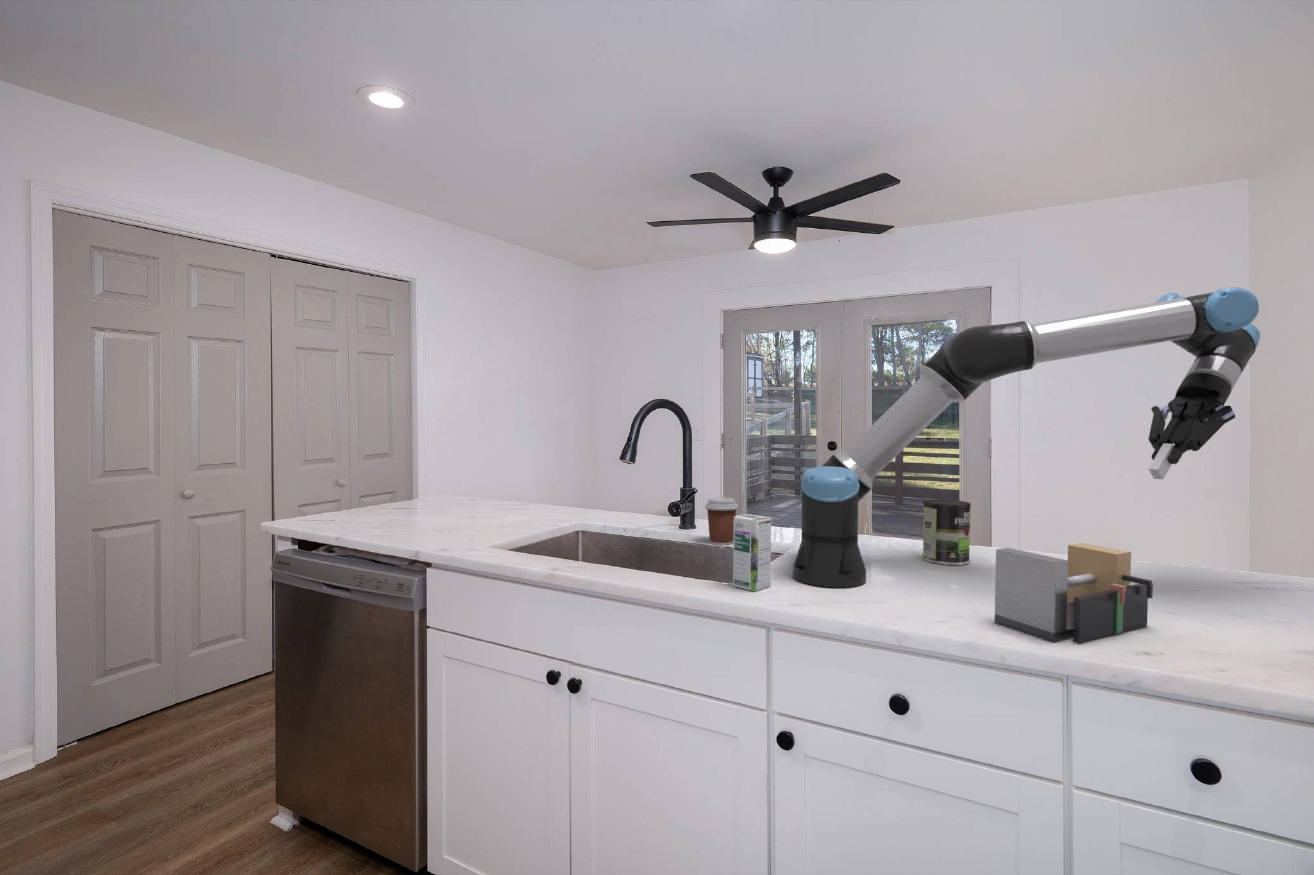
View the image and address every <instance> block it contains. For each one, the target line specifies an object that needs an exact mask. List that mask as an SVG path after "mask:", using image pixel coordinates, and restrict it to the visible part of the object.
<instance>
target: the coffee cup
mask: <svg viewBox="0 0 1314 875" xmlns="http://www.w3.org/2000/svg"><path fill="white" fill-rule="evenodd" d="M739 508H740V507H739V505H738V504H737V502H736V500H735V499H734V498H733V497H732V498H731V497H727V496H726V497H723V496H722V497H721V496H720V497H718V496H717V497H710V498H709V499H708V502H707V503H706V504H704V509H706V511H707V522H708V534H709V544H711V545H716V546H729V545H730V546H731V545H734V517H735V516H737V510H739Z"/></svg>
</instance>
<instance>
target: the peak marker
mask: <svg viewBox="0 0 1314 875" xmlns="http://www.w3.org/2000/svg"><path fill="white" fill-rule="evenodd" d="M1111 590H1116V591H1119V604H1124V601H1125V591H1126V586H1123V585H1118V584H1111Z"/></svg>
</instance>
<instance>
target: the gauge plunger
mask: <svg viewBox="0 0 1314 875" xmlns="http://www.w3.org/2000/svg"><path fill="white" fill-rule="evenodd" d="M1067 560H1068V583H1067V601H1071V602H1074V597H1077V596H1082V595H1087V594H1092V593H1097V592H1102V591H1107V590H1111V584H1118V585H1123V586H1131V583H1133V584H1134V583H1135V584H1143V585H1147V590H1146V597H1147V598H1148V599H1153V594H1154V593H1153V592H1154V583H1153V580H1151V579H1146V578H1143V577H1138V576H1133V575H1131V574H1132V573H1131V572H1132V570H1131V569H1132V568H1131V567H1132V566H1131V565H1132V551H1127V550H1124V549H1123V550H1122V549H1116V548H1111V547H1105V546H1100V545H1095V544H1090V543H1084V542H1083V543H1082V542H1079V543H1073V544H1067Z"/></svg>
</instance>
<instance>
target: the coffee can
mask: <svg viewBox="0 0 1314 875" xmlns="http://www.w3.org/2000/svg"><path fill="white" fill-rule="evenodd" d="M922 504H923V532H922V533H923V535H922V536H923V537H922V538H923V540H922V542H923V543H922V547H923V548H922V560H923V561H925V562H927V561H928V563H931V564H935V565H936V564H937V565H942V564H943V565H944V566H965V565H964V564H966V565H968V564H970V537H971V536H970V535H971V533H970V531H971V529H970V528H971V506H972V503H970V502H968V501H963V500H956V499H955V500H954V499H925V500H923V501H922ZM943 565H942V566H943Z"/></svg>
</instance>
